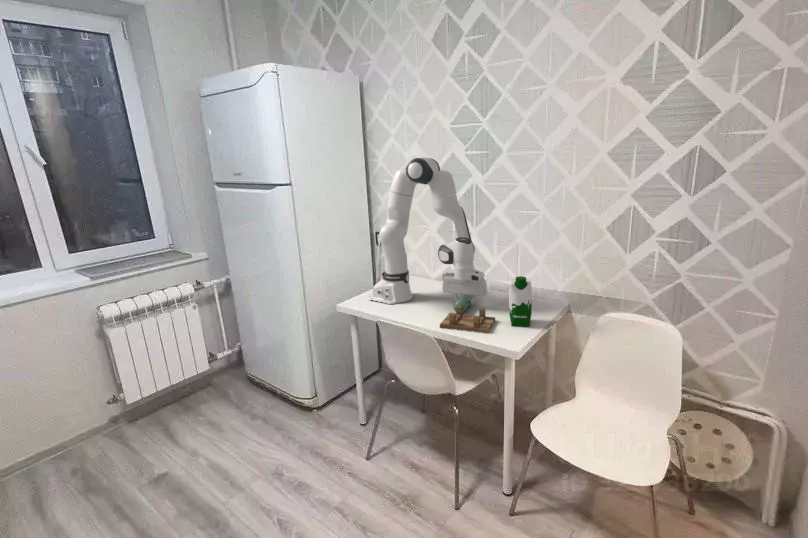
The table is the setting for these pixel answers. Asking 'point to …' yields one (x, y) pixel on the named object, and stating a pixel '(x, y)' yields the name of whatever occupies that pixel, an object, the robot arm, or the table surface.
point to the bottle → (463, 302)
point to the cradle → (468, 321)
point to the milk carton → (520, 301)
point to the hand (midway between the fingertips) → (464, 303)
